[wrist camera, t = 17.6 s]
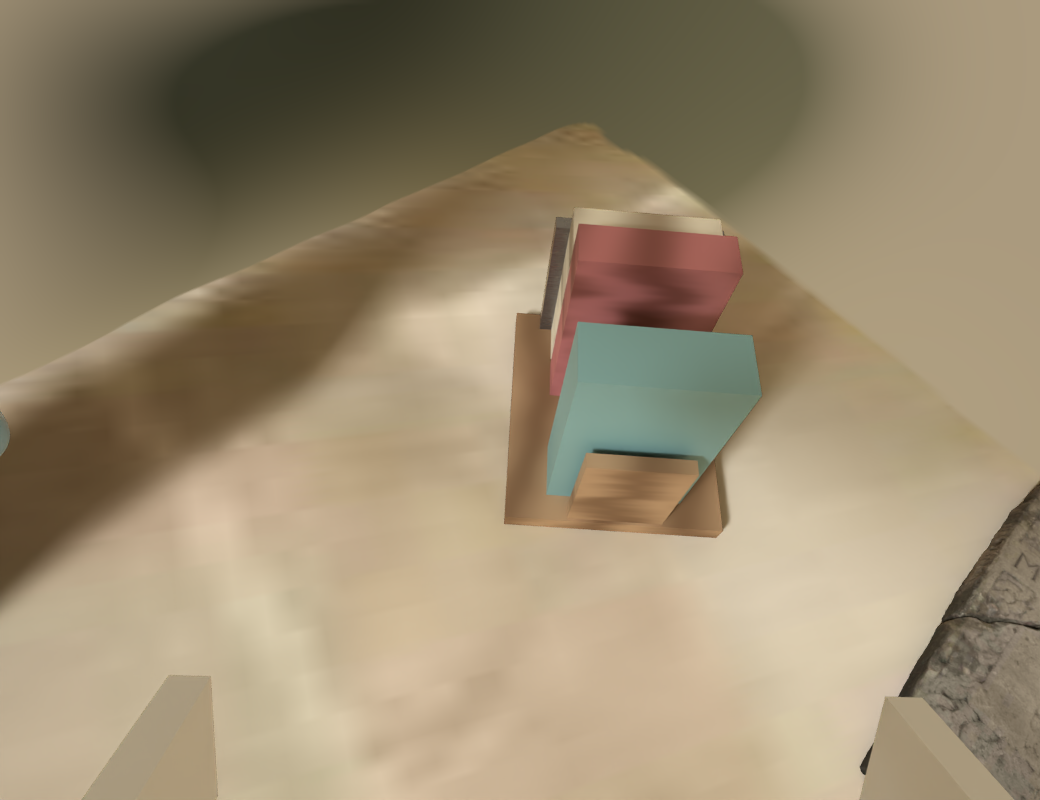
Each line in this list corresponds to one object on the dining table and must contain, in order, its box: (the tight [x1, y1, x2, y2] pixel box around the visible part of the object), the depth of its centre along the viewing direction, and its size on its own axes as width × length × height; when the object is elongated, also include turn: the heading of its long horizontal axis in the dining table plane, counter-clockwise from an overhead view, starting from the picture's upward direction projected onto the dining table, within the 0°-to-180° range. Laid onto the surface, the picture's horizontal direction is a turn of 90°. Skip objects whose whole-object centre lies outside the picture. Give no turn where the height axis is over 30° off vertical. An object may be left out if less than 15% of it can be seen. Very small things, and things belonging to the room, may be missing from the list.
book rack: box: [504, 207, 743, 538], centre depth 47 cm, size 16×18×18 cm
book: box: [546, 322, 762, 504], centre depth 44 cm, size 10×4×16 cm, turn 87°
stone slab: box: [860, 484, 1040, 800], centre depth 47 cm, size 10×3×30 cm
